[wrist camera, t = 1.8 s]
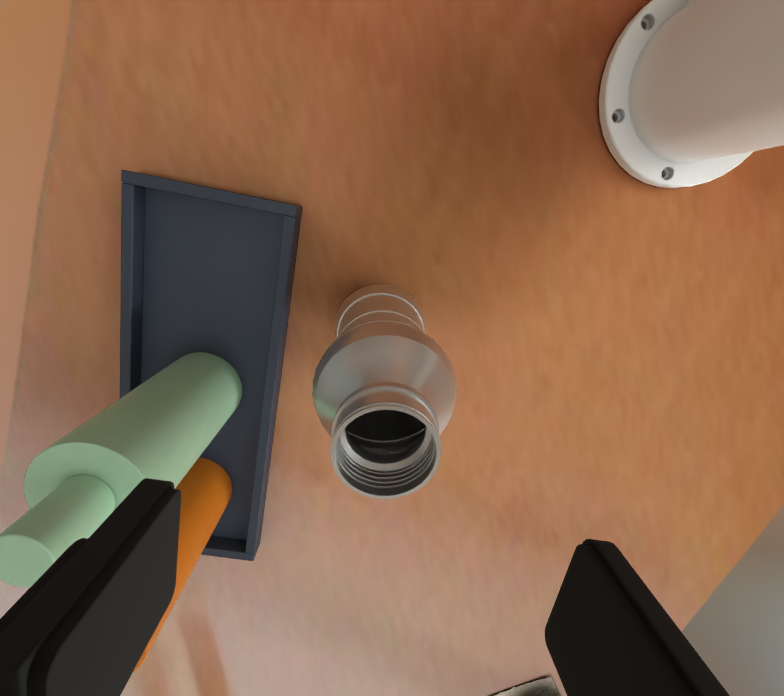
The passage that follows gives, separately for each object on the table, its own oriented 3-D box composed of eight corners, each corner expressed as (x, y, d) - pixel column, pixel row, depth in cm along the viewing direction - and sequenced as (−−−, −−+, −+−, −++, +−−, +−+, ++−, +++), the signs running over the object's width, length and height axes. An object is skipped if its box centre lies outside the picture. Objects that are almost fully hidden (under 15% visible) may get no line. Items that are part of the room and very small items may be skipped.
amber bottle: (163, 451, 35) (-46, 674, 18) (235, 462, 35) (100, 688, 18) (161, 510, 36) (-33, 766, 19) (229, 519, 37) (101, 777, 20)
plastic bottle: (335, 280, 32) (272, 364, 13) (423, 278, 32) (491, 359, 13) (340, 359, 34) (290, 537, 14) (422, 357, 34) (481, 531, 15)
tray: (138, 173, 29) (121, 169, 27) (302, 206, 30) (297, 205, 28) (131, 527, 38) (118, 544, 36) (259, 543, 39) (253, 561, 37)
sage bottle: (168, 346, 32) (-73, 486, 15) (245, 359, 33) (98, 509, 15) (165, 414, 34) (-55, 612, 17) (239, 426, 34) (100, 628, 17)
